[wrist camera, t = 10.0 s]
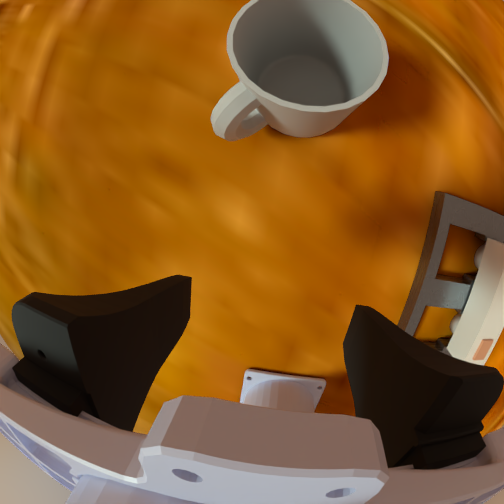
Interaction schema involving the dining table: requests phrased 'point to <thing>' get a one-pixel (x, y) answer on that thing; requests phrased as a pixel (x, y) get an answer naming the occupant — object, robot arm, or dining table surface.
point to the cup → (299, 67)
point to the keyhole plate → (426, 279)
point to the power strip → (481, 308)
